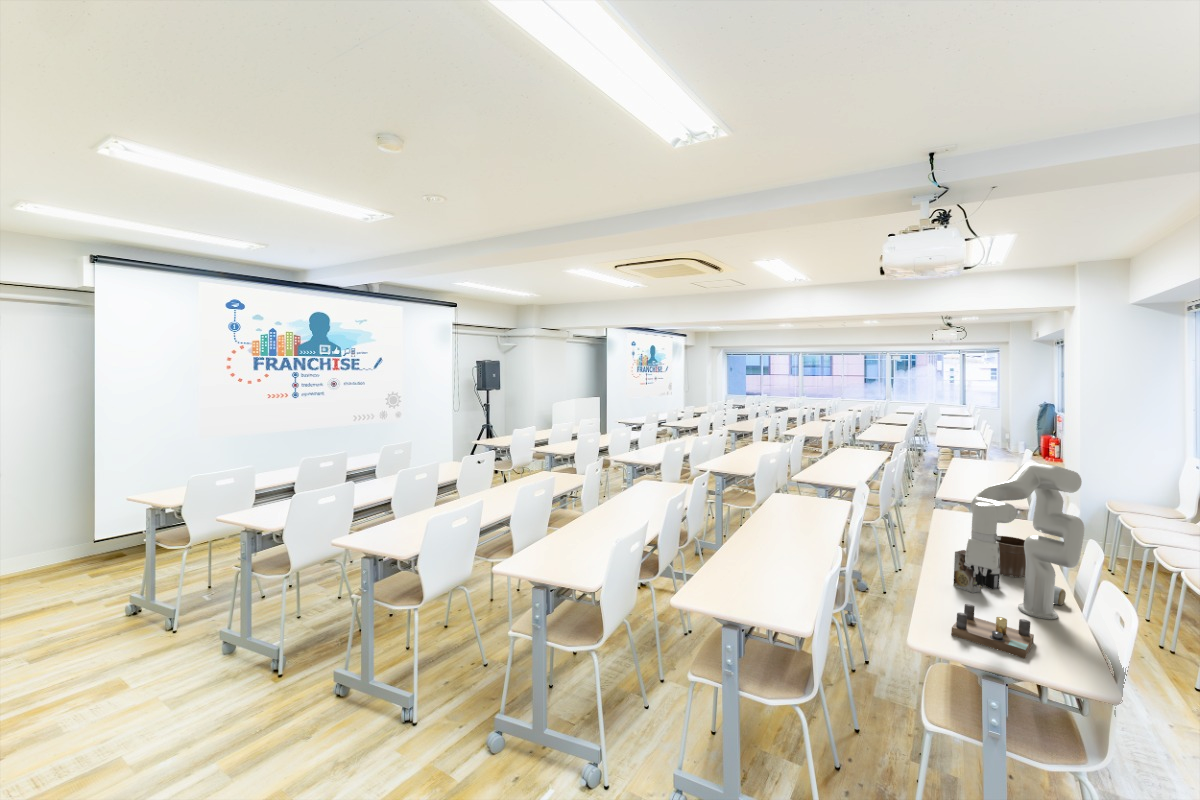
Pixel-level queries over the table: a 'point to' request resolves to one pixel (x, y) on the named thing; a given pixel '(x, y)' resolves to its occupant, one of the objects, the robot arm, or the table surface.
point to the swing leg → (1000, 628)
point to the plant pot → (1012, 556)
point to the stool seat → (982, 633)
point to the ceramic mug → (1059, 595)
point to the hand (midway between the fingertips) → (980, 584)
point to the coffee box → (964, 574)
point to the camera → (992, 580)
